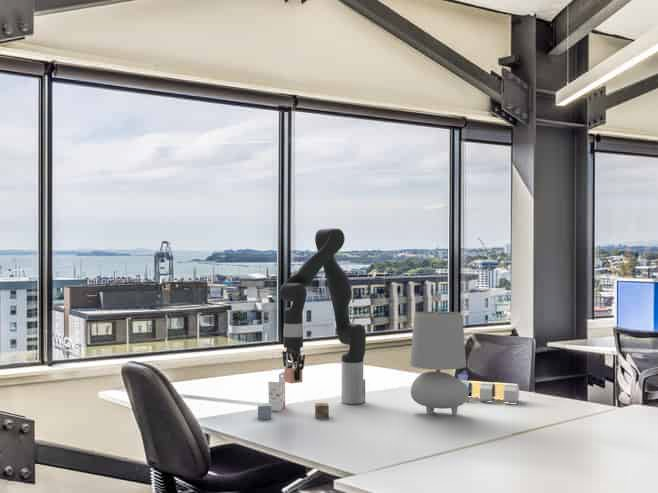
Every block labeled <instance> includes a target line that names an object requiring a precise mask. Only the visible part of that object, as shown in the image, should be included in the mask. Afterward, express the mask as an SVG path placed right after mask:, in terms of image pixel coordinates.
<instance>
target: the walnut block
mask: <svg viewBox="0 0 658 493" xmlns="http://www.w3.org/2000/svg"><path fill="white" fill-rule="evenodd" d="M329 410H330V408H329V403H328V402H315V403H314V417H315V420H316V419H321V418H326V419H329V418H330V415H329V412H330V411H329ZM321 420H322V419H321Z"/></svg>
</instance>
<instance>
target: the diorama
mask: <svg viewBox="0 0 658 493" xmlns="http://www.w3.org/2000/svg"><path fill="white" fill-rule="evenodd" d="M467 371H468V370H463V371H462V372H460V373H459V374H457V378H458V379H459V380H461V381H462V382H463V383H464V384H466V386H467V387H468V390H469V396H480V398H479V401H492V402H493V399H492V397H495V398H504V400H503V402H509V403H517V401H518V399H519V398H520V386H519V384H518V383H511V382H510V383H509V382H495V381H494V382H492V381H491V382H490V381H478V380H477V381H476V380H469V379H468V377H469V374H467V373H468V372H467ZM462 373H463V374H462ZM467 400H469V398H468V399H467ZM519 400H520V399H519ZM518 402H519V401H518ZM517 404H518V403H517Z"/></svg>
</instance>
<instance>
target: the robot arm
mask: <svg viewBox="0 0 658 493" xmlns="http://www.w3.org/2000/svg"><path fill="white" fill-rule="evenodd" d="M345 238H346V237H345V234H344V232H343V231H342V229H340V228H338V227H337V228H336V227H333V228H331V227H330V228H329V227H328V228H320V229H318V230H317V231H316V233H315V235H314V241H315V242H314V243H315V247H316V250H317V252H315V253H314V254H312V255H311V256H309V257H308V258H307V259H306V260H305V261H303V263H302V264H301V265H300V267H299V268H298V269H297V271H296V272H295V273H294V274H293V275H291V276H290V277H289V278H288V279H286V280H285V281H284V282H283V284H282V285H281V286H280V289H279V296H280V299H282V300H283V301H285V302H292V303H291V306H290V307H287V308H285V309H284V312H283V317H284V319H283V348H285V350H283V351H281V355H282V362H283V367H285V368H294V380H295V381H299V380H300V370H302V371H303V370H304V367H305V359H306V355H305V353H304V354H302V353H301V349H302V348H304V327H303V311H304V307H305V303H306V301H307V296H308V294H307V293H308V292H307V289H306V287H307V286H309V285H311V283H312V282H313V281H314V279H315V277H316V276H317V274H319V272H320V271H321V269H322V268H323V272H324V274H325V278H326V283H327V288H328V292H329V296H330V300H331V304H332V309H333V315H334V321H335V327H336V333H337V334H336V335H337V338H338V340H339V342H340V343H341V344H342V345H346V346H349V350H348V351H347V352H345V353H343V354H342V355H341V403H343V404H346V405H358V404H363V403H366V379H365V378H364V358H365V355H366V340H367V339H366V338H367V334H366V329H365V327H364V325H362V324H361V323H360V324H359V323H352V322H351V320H350V317H349V316H350V315H349V306H350V302H351V299H352V287H351V283H350V279H349V276H348V275H347V273H346V272H345V270H344V269H343V268H342V267H341V265H339V263H338V262H337V260H336V258H335V255H336V254H337V253H338V252H339V251H340V250H341V249H342V248H343V246H344V244H345V240H346V239H345Z"/></svg>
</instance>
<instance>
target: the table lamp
mask: <svg viewBox="0 0 658 493" xmlns="http://www.w3.org/2000/svg"><path fill="white" fill-rule="evenodd" d="M463 316H464V315H463V313H461V312H456V311H417V312H414V314H413V323H412V324H413V327H412V339H411V340H412V341H411V354H410V367H413V368H417V369H423V370H424V369H425V370H435V371H427V372H424V373H421V374H419V375H417V377H416V378H415V379H414V380H413V381H412V384H411V386H410V396H411V398H412V400H413V401H414V402H416V403H417V404H418V405H420V406H423V407H425V408H426V409H425V410H426V415H432V413H431V412H433V413H434V412H435V409H450V410H451V414H452V416H453V415H456V416H457V415H458V408H459V407H461V406H462V405H464V404H465V403H466V402H468V401H467V399H468V400H469V397H468V396H469V390H468V387H467V386H466V384H464V383H463V382H462V381H463V380H462V381H461V380H459V379H458V377H455V376H454V375H452V374H449V373H447V372H442V370H444V371H445V370H447V371H448V370H458V369H459V370H460V369H466V367H467V358H466V347H465V346H466V345H465V333H464V332H465V331H464V330H465V329H464V318H463Z"/></svg>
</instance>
